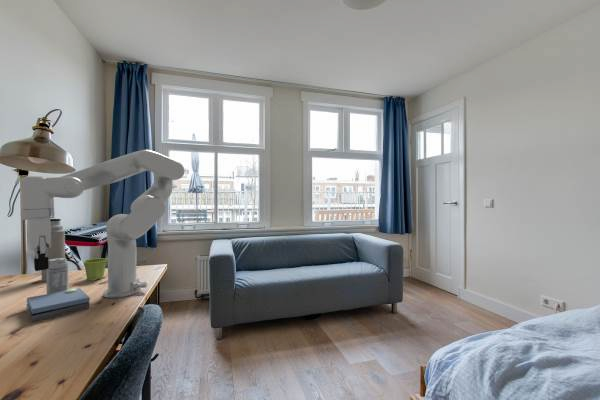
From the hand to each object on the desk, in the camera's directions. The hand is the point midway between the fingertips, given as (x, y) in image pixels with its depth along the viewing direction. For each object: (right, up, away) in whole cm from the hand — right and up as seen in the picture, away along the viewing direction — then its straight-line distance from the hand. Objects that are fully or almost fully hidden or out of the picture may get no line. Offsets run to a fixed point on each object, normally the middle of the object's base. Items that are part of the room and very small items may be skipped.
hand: (41, 269), depth 87 cm
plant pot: (-11, -14, +37) cm, 41 cm away
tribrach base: (+3, -14, +3) cm, 15 cm away
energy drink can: (-6, -15, +12) cm, 20 cm away
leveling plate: (+3, -12, +3) cm, 13 cm away
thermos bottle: (-30, -14, +36) cm, 49 cm away
